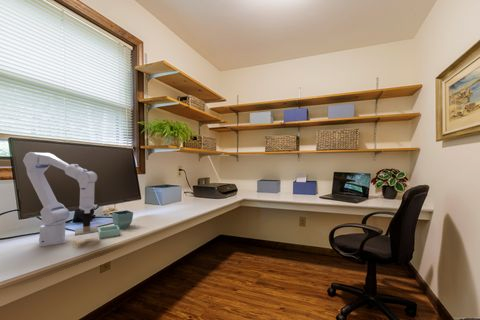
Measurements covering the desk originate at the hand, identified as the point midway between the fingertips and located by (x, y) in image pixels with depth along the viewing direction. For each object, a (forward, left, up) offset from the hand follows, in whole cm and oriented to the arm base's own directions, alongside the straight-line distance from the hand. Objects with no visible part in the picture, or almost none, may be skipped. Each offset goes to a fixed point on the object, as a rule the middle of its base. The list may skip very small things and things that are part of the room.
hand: (86, 225), depth 108 cm
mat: (0, 0, -8) cm, 8 cm away
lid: (0, 0, -3) cm, 3 cm away
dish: (+10, +7, -8) cm, 15 cm away
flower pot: (+18, +18, -9) cm, 27 cm away
